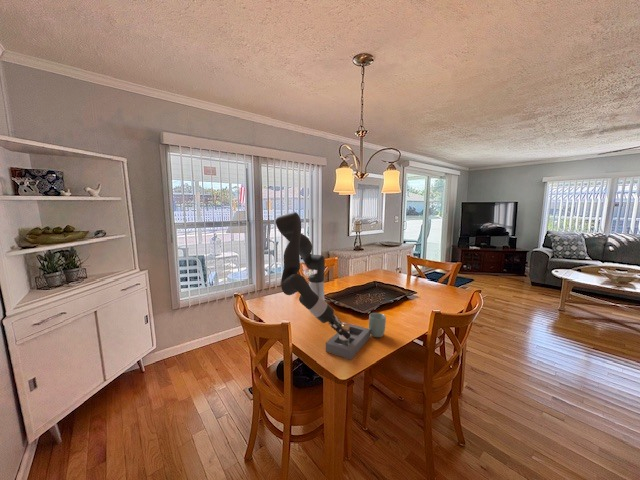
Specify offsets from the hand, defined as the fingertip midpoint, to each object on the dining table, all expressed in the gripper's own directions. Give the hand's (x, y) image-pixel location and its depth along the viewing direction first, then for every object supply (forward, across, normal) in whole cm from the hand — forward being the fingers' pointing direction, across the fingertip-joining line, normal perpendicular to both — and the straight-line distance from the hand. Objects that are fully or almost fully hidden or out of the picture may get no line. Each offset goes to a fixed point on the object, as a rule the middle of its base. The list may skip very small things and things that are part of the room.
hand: (346, 332), depth 113 cm
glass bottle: (+4, 0, +5) cm, 7 cm away
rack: (+7, +4, +4) cm, 9 cm away
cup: (+18, +8, -7) cm, 21 cm away
